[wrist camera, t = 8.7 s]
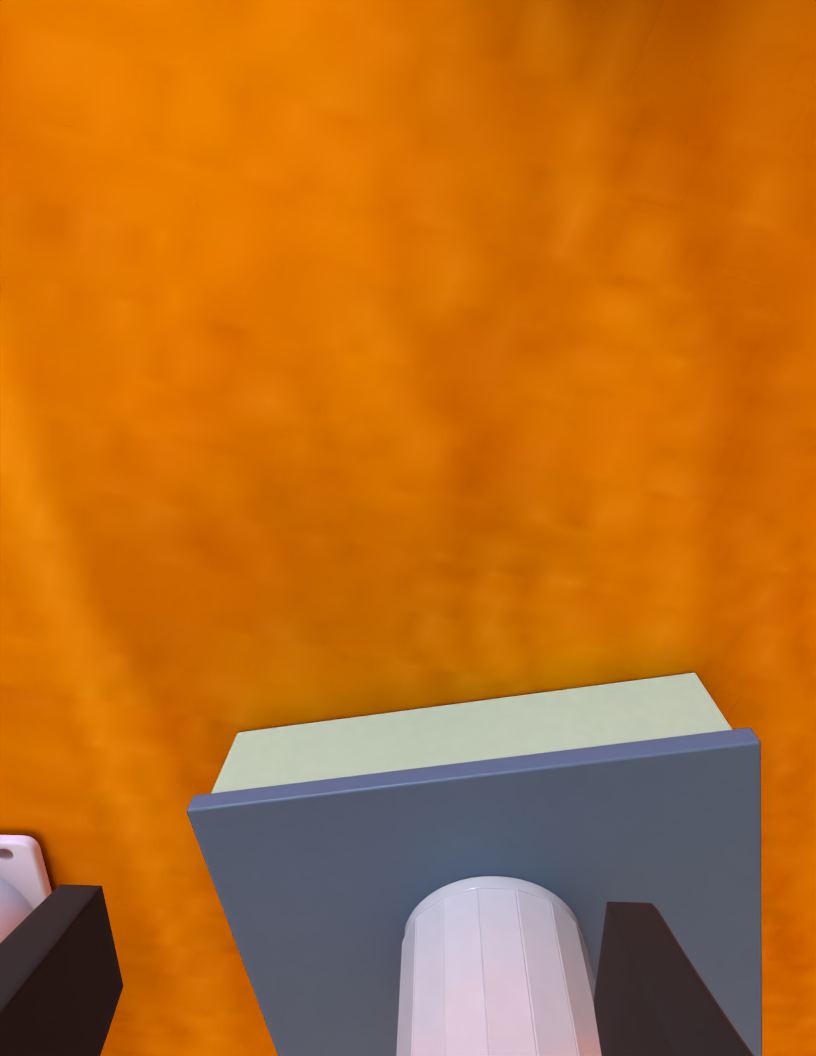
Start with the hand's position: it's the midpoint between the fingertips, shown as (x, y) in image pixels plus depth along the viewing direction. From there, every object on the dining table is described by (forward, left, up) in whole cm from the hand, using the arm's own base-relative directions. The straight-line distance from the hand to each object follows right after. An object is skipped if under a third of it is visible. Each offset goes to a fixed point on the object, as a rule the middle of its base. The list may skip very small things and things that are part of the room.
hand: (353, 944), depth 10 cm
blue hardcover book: (+3, -8, -10) cm, 14 cm away
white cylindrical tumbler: (+3, -8, -7) cm, 11 cm away
